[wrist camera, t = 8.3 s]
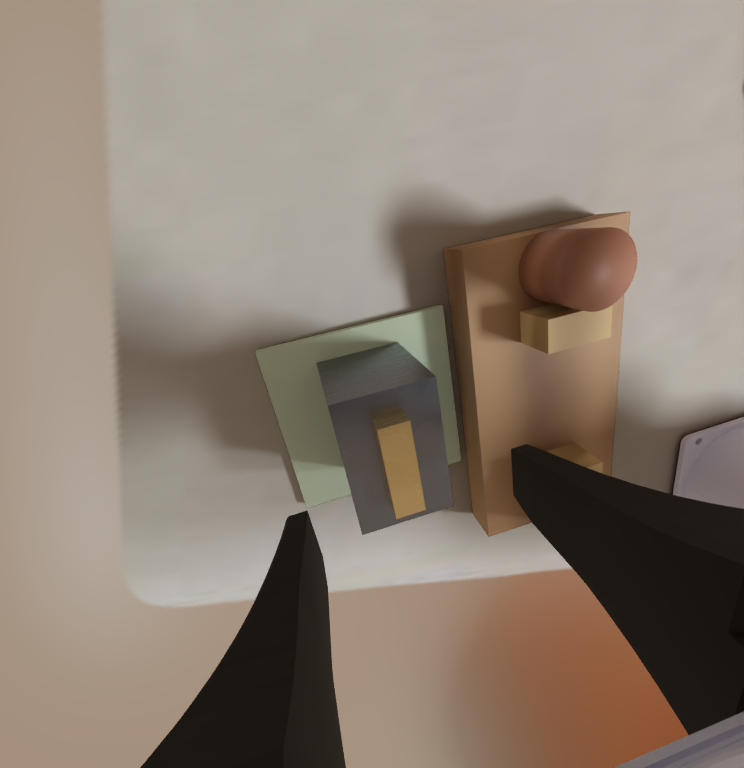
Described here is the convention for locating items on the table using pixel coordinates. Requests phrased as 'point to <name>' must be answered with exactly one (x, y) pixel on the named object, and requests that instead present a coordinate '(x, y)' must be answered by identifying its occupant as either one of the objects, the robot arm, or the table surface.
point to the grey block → (388, 434)
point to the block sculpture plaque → (538, 350)
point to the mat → (308, 403)
